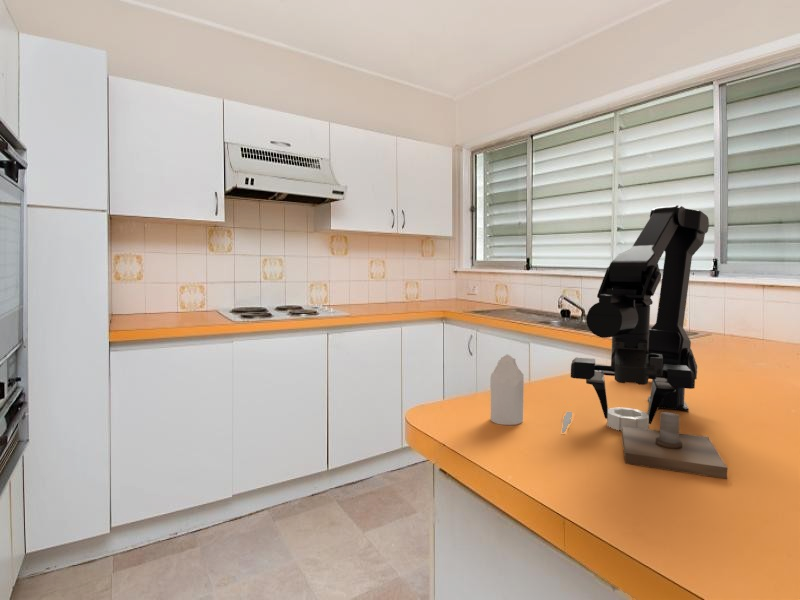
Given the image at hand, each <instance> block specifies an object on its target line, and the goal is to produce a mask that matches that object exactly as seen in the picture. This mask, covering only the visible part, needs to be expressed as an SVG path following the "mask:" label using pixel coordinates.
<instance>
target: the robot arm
mask: <svg viewBox="0 0 800 600" xmlns="http://www.w3.org/2000/svg"><path fill="white" fill-rule="evenodd" d="M709 227H710V218H709V217H708V215H707V214H706V213H704V212H703V211H701V210H700V209H698V210H697V209H690V208H686V207H684V206H682V205H666V206H665V205H664V206H657V207H655V208H652V209H651V211H650V215H649V219H648V220H647V222H646V223H645V225H644V227H643V228H642V230H641V232H640V234H639V235H638V236H637V239H636V240H635V242H634V243H633V245H632V246H631V247H630V248H629V249H627V250H624V251H622V252H620V253H619V254H618V255H617V256H616V257H615V258H614V259H613V260H612V261H611V262H610V264H609V266H607V268H606V271H605V274H604V276H603V278H602V281H601V284H600V286H599V289H598V292H597V296H596V297H597V299H598V302H596V303H594V304H593V305H592V306H591V307H590V308H589V309H588V312H587V314H586V317H585V321H586V325H587V327H588V329H589V331H590V332H591V333H592V334H593V335H595V336H597V337H598V338H602V339H603V338H604V339H606V338H608V339H609V338H611V352H610V353H611V354H610V355H611V357H610V364H603V363H601V364H600V363H596V358H587V357H575V358H573V360H572V361H571V364H570V378H572V379H577V380H578V379H579V380H585V382H586V384H588V385H591V386H592V387H593V388H594V391H595V393H596V395H597V397H598V399H599V403H600V406H601V410H602V413H603V417H604V419H606V420H607V414H608V408H609V407H608V400H607V399H608V397H607V389H606V382H605V376H611V377H614V381H615V382H617V383H619V384H625V383H632V384H638V385H639V386H640V385H641V386H644V385H648V383H649V380H651V389H650V395H649V396H647V401H648V409H647V413H648V416H649V425H651V424H652V422H653V420H654V418H655V415H656V413H657V411H658V409H666V410H667V409H668V410H677V411H689V409H690V408H689V406H688V404H687V403H686V401H685V393H686V392H685V389H689V390H692V389H695V388H696V387H695V386H696V380H697V378H698V377H697V375H698V364H697V361H696V358H695V357H694V353H693V351H692V349H691V346H692V345H691V344H692V342H691V339H690V337H689V336H688V333H687V332H686V330H685V328H684V324H685V323H684V322H685V314H686V307H687V306H686V305H687V298H688V291H689V283H690V276H691V275H690V274H691V268H692V261H693V256H694V255H695V253H696V252H698V250H699V249H700V248H701V247H702V246H703V245H704V242H705V235H706V234H707V233H708V232H709ZM664 253H665V254H664ZM663 254H664V262H663V269H662V273H661V271H660V270H661V269H660V267H659V262H660V259H661V257H662V256H663ZM660 282H661V283H660ZM659 284H661V285H660V291H659V299H658V307H657V314H656V322H655V323H654V324H653V326H652V327H651V328H650V320H651V305H653V303H654V302H653V300H652V298H651V297H653V296H654V294H656V293H655V292H656V290H657V288H658V286H659Z"/></svg>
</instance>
